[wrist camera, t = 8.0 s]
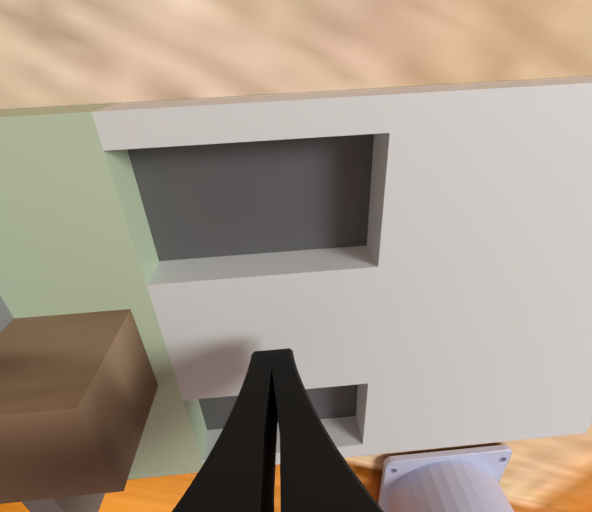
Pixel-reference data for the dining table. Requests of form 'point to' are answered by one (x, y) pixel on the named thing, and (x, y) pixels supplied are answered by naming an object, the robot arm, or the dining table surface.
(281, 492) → the robot arm
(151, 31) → the dining table surface
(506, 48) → the dining table surface
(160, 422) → the board
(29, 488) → the walnut block
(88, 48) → the dining table surface
